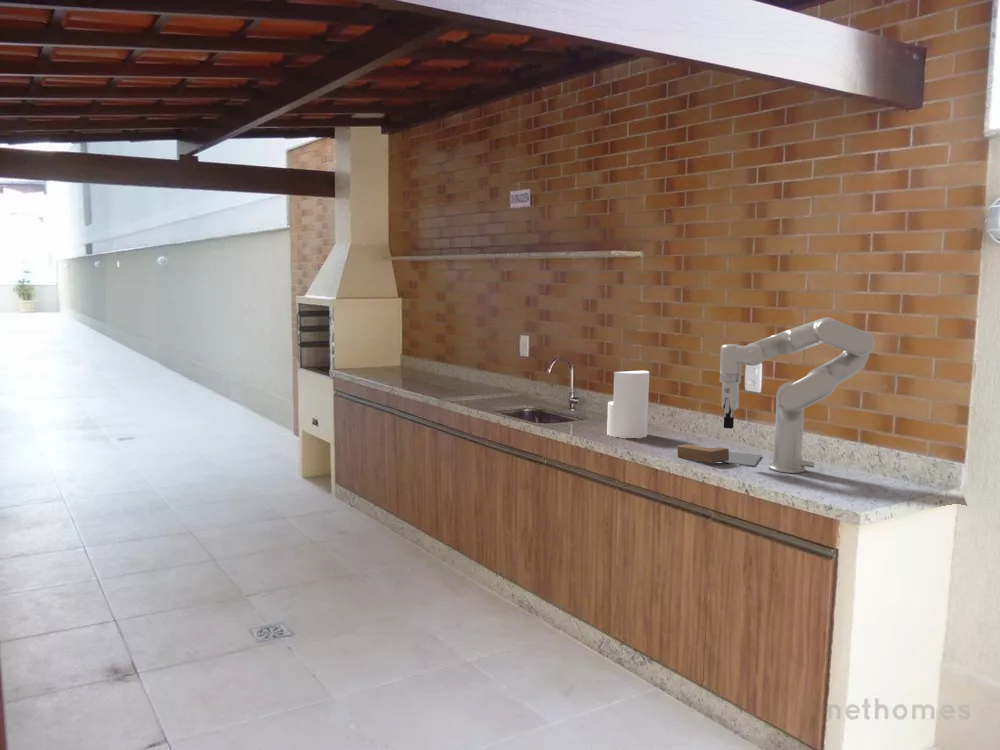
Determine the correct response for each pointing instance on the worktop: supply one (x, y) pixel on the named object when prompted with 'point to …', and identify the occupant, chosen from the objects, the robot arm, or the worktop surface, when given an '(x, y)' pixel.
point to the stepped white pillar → (629, 405)
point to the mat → (743, 459)
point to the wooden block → (703, 453)
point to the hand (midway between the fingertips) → (728, 427)
